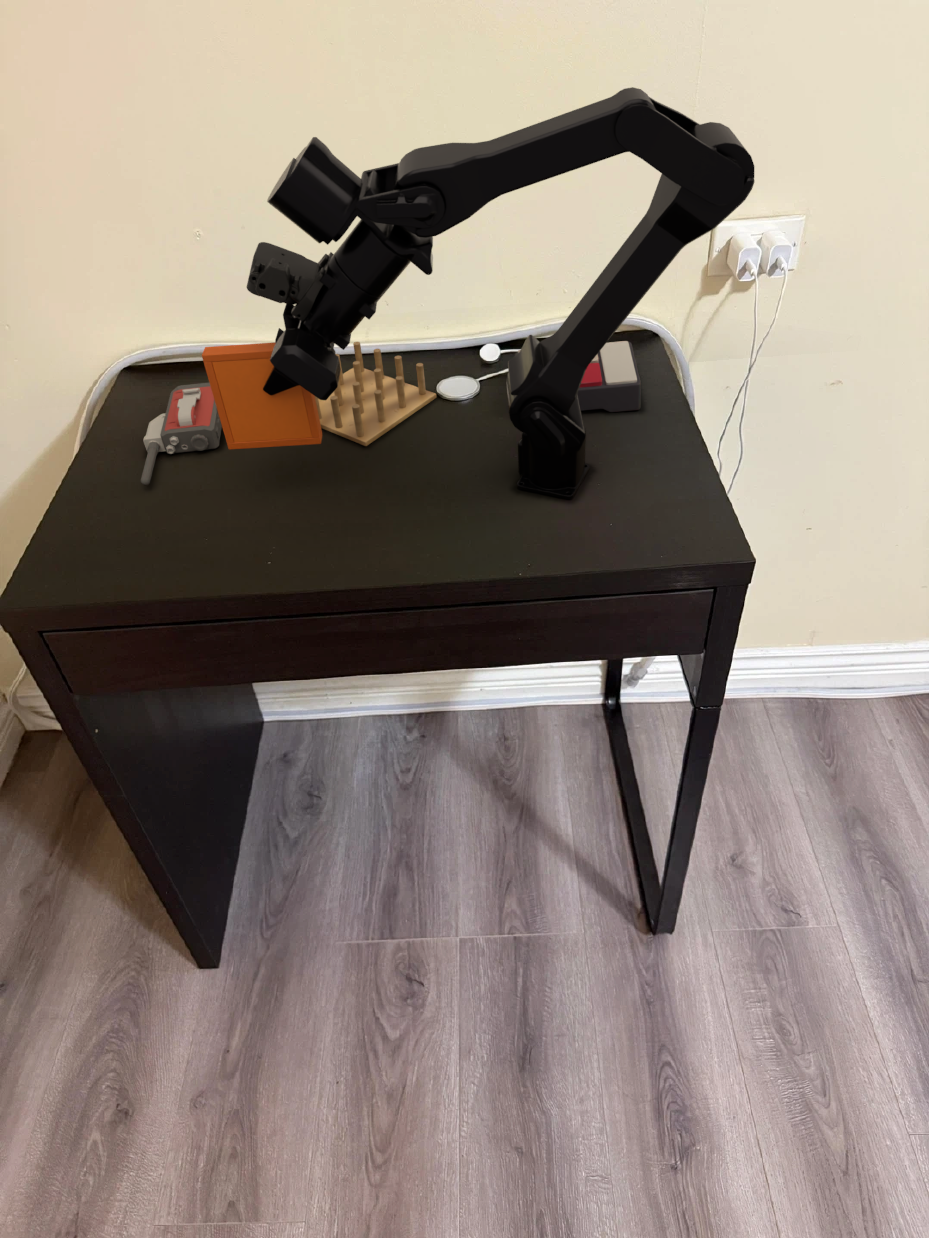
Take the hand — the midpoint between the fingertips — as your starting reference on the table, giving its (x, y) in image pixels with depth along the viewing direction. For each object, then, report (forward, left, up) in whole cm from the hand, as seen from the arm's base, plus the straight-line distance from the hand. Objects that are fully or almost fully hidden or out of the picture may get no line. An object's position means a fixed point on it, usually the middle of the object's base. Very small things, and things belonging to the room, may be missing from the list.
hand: (268, 387), depth 93 cm
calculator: (-23, -31, -14) cm, 41 cm away
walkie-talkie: (+19, -5, -14) cm, 23 cm away
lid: (+1, 0, -7) cm, 7 cm away
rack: (+2, -19, -13) cm, 24 cm away
